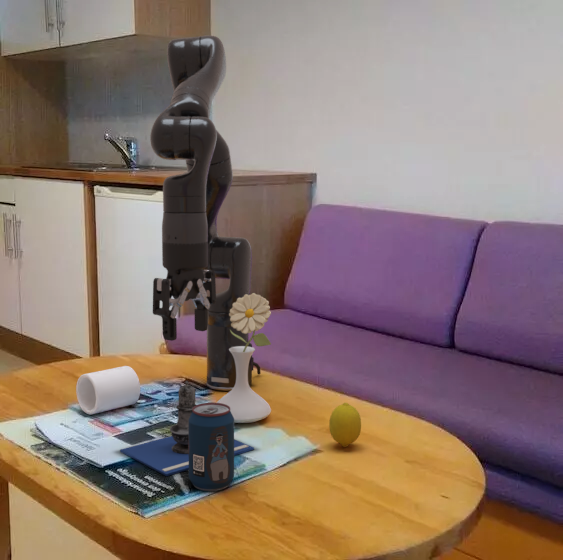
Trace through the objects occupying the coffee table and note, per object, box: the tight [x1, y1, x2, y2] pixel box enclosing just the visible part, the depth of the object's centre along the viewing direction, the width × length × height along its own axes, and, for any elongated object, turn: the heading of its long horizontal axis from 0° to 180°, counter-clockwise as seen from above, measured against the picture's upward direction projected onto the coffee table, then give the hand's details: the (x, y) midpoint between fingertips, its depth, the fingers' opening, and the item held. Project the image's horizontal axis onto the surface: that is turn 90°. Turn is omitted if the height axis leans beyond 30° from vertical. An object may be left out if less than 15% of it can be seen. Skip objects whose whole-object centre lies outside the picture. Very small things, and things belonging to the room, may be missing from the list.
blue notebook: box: [119, 435, 255, 477], centre depth 132 cm, size 18×14×1 cm
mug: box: [75, 365, 141, 416], centre depth 155 cm, size 12×10×8 cm
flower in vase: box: [216, 292, 272, 424], centre depth 147 cm, size 13×11×25 cm
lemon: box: [328, 402, 362, 448], centre depth 134 cm, size 6×6×8 cm
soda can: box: [188, 402, 235, 492], centre depth 118 cm, size 7×7×12 cm
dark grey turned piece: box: [169, 380, 197, 454], centre depth 131 cm, size 6×6×12 cm
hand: (186, 335), depth 130 cm, fingers open, 8 cm apart
